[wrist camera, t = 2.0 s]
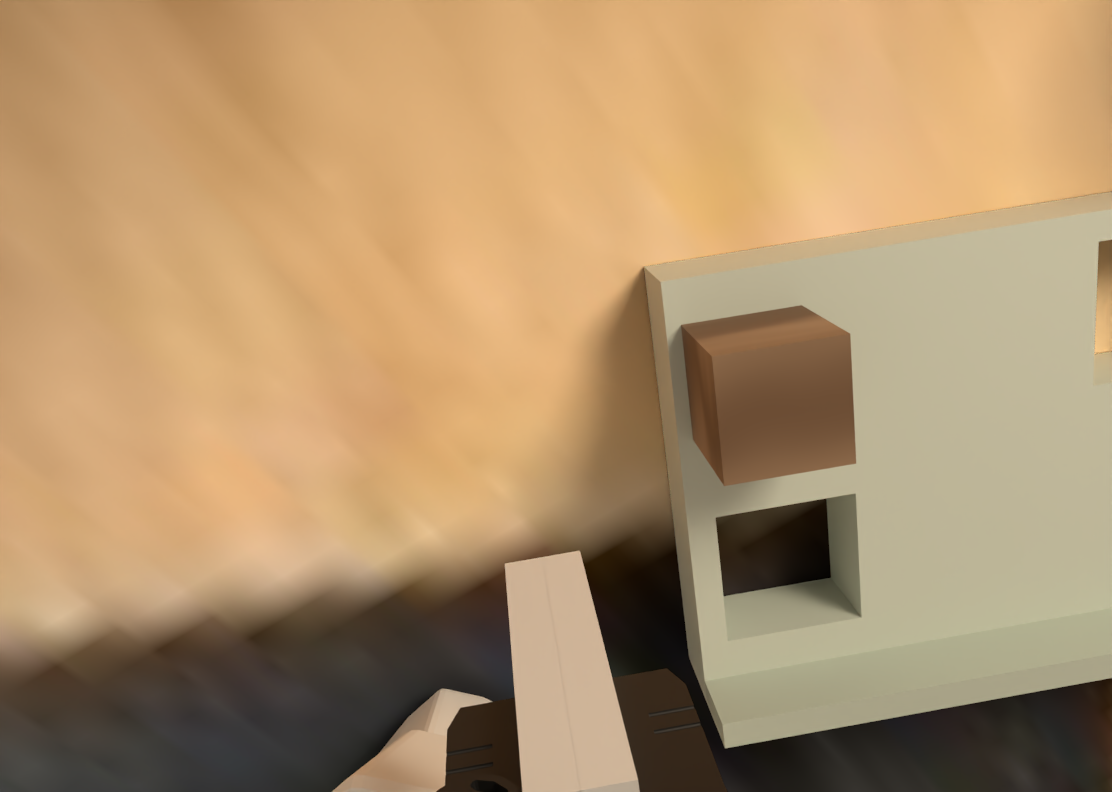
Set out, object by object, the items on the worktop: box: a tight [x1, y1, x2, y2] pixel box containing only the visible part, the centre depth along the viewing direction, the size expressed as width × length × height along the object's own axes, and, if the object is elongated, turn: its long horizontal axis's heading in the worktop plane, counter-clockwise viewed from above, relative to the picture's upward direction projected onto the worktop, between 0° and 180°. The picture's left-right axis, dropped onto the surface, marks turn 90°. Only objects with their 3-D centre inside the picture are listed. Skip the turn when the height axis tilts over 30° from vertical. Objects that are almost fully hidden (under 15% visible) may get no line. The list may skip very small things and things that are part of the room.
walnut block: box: [681, 305, 856, 486], centre depth 28 cm, size 4×4×4 cm
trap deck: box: [644, 192, 1112, 748], centre depth 32 cm, size 16×27×6 cm, turn 98°
